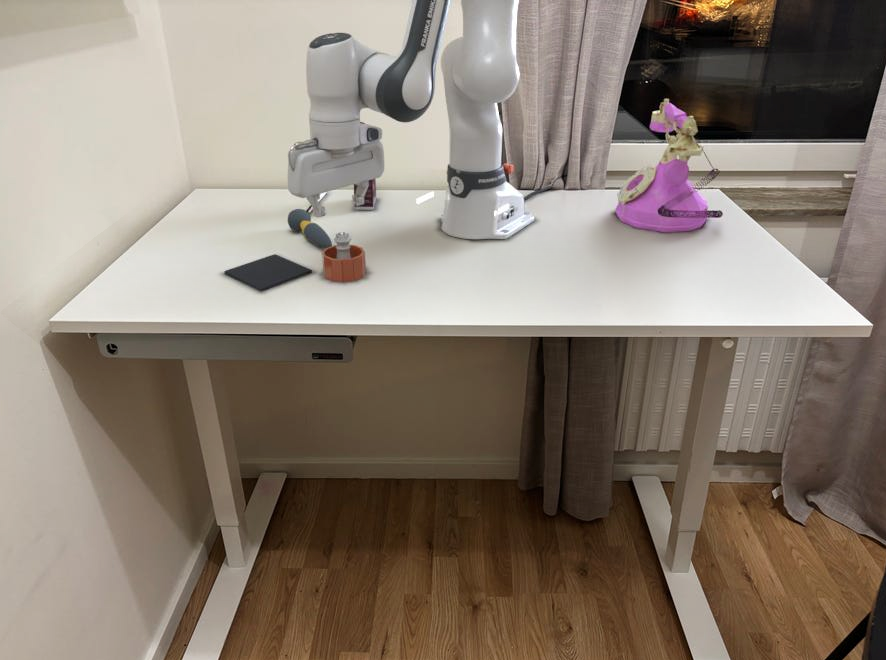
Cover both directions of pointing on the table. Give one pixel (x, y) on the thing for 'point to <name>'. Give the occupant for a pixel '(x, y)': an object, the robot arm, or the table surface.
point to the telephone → (667, 181)
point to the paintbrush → (308, 228)
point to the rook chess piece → (343, 245)
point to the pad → (267, 272)
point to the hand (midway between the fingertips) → (339, 210)
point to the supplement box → (368, 196)
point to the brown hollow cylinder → (344, 264)
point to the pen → (318, 201)
